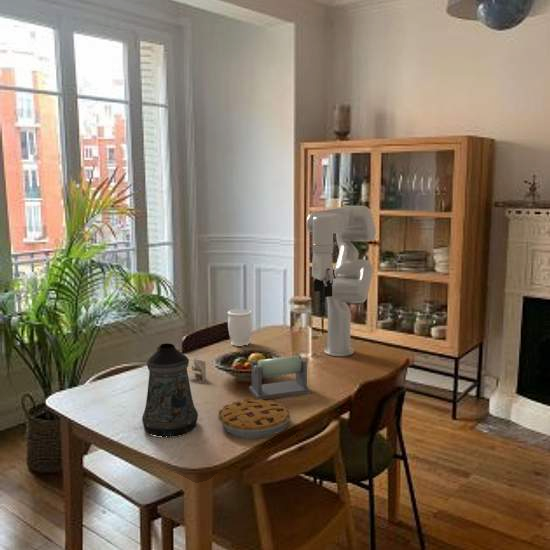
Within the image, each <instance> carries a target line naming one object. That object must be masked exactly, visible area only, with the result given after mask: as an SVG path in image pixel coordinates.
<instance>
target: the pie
mask: <svg viewBox="0 0 550 550" xmlns="http://www.w3.org/2000/svg"><path fill="white" fill-rule="evenodd" d="M217 420H218V421H219V423H220V424H221V425H222V426H224V427H223V428H224V429H225V431H226V432H227V431H228V432H227V433H229V432H230V433H229V434H230V435H232V434H234V435H236V436H235V437H237V436H240V437H239V438H242V437H244V438H243V439H260V438H259V437H261V438H264V436H266V437H270V435H271V436H273V435H275V434H274V433H276V432H278V433H280V432H281V431H282V429H283V428H284V427H285V426H286V427H287V424H288V421H290V420H291V412H290V411H289V409H288V407H287V406H284V404H283V403H281V402H277V403H276V402H275V400H272V399H250V398H246V399H244V400H242V401H234V402H232V403H231V404H226V405H224V406H223V407H222V409H219V411H218V414H217ZM286 427H285V428H286ZM285 428H284V429H285ZM279 431H280V432H279ZM272 434H273V435H272ZM276 434H277V433H276ZM234 435H233V436H234Z"/></svg>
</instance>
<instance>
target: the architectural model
mask: <svg viewBox="0 0 550 550" xmlns="http://www.w3.org/2000/svg"><path fill="white" fill-rule="evenodd" d="M193 363H194V365H191V367H190V368H187V372H189V373H193V374H194V377H195V376H197V377H196V378H197V379H198V380H199V379H200V378H202V379H200V380H203V381H206V380H205V379H207V374H206V373H207V372H206V370H207V369H206V361H205V360H202V359H198V358H194V360H193Z"/></svg>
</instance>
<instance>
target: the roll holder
mask: <svg viewBox="0 0 550 550" xmlns="http://www.w3.org/2000/svg"><path fill="white" fill-rule="evenodd" d="M295 356H299V358H300V360H301V359H302V357H301V355H299V354H295ZM250 361H251V385H249V388H248V389H249V391H250V393H251V394H252V395H253V397H255V398H256V399H263V400H266V399H265V398H267V399H274V398H280V397H279V396H282V397H287V396H288V395H289V396H295V395H302V394H301V393H303V394H309V393H308V392H310V393H311V389H310V388H309V387H308V361H307V360H306V359H302V367H301V372H300V373H295V380H288V381H280V382H273V383H272V382H271V383H265V384H262V383H263V382H262V381H263V377H262V367H261V366H260V365H258V364H257V361H256V359H251V360H250ZM254 366H256V373H254ZM289 396H288V397H289ZM273 397H274V398H273ZM256 399H255V400H256Z"/></svg>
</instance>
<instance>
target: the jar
mask: <svg viewBox="0 0 550 550" xmlns="http://www.w3.org/2000/svg"><path fill="white" fill-rule="evenodd" d="M252 313H253V312H252V310H250V309H246V308H245V309H244V308H237V309H231V310H227V316H228V319H227V329H228V330H227V331H228V334H229V338H230V340H231V342H230V345H231V346H233V345H237V346H239V345H247V344H249V343H251V342H250V339H251V336H252V330H253V322H252V316H251V315H252ZM249 345H250V344H249ZM237 346H236V347H237ZM247 346H248V345H247Z"/></svg>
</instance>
